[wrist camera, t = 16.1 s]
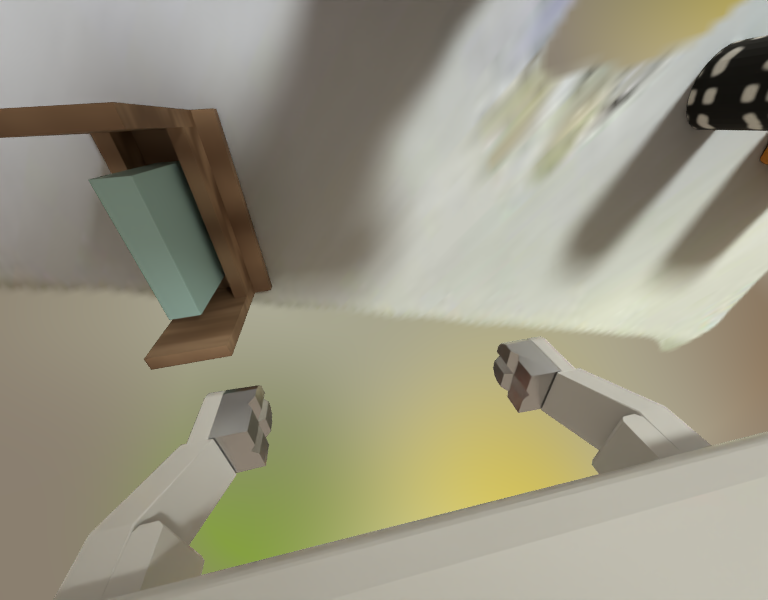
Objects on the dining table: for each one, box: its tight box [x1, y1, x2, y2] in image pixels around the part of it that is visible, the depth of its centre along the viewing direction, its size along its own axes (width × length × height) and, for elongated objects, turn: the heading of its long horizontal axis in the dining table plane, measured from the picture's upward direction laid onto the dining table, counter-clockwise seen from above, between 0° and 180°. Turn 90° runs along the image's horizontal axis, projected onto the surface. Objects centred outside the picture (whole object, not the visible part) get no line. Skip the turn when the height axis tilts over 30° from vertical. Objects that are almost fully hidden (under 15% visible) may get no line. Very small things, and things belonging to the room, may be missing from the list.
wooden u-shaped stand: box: [0, 102, 272, 370], centre depth 24 cm, size 18×10×12 cm, turn 3°
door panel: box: [89, 161, 225, 320], centre depth 25 cm, size 11×2×9 cm, turn 3°
